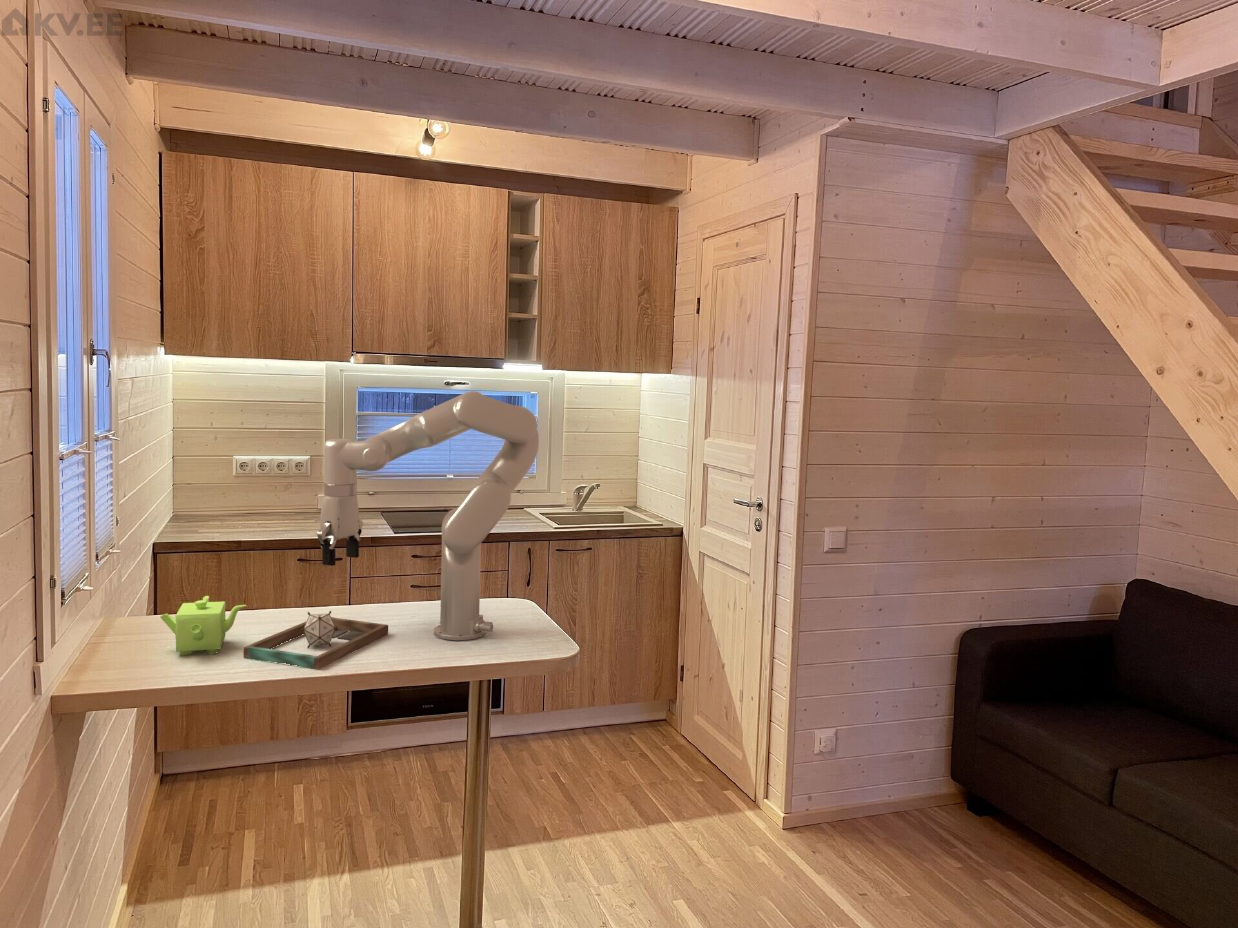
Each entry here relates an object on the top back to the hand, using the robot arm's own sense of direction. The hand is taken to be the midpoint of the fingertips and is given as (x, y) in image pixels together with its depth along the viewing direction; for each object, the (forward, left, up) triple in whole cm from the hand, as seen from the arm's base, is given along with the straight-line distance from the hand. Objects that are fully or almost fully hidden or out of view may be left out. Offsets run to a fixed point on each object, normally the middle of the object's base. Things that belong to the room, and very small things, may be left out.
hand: (341, 560), depth 219 cm
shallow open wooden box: (0, +9, -18) cm, 20 cm away
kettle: (+22, +21, -19) cm, 35 cm away
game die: (0, +9, -19) cm, 21 cm away
